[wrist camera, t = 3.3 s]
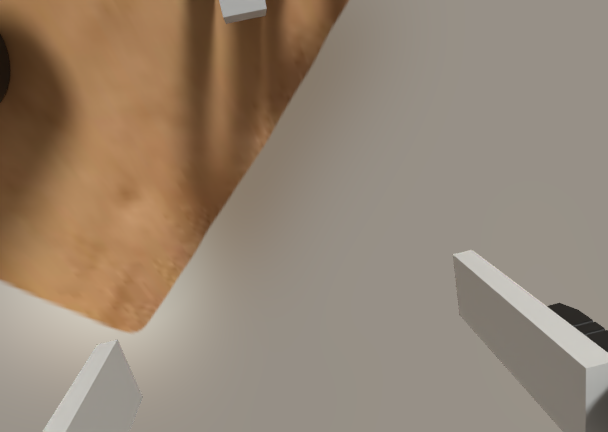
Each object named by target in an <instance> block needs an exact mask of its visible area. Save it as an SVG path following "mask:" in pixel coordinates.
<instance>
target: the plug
mask: <svg viewBox="0 0 608 432" xmlns="http://www.w3.org/2000/svg"><path fill="white" fill-rule="evenodd" d="M219 1H220V6H221V10H222V14H223V18H224V20H225V22H226V24H227V23H232V22H237V21H242V20H247V19H252V18H257V17H262V16H266V11H267V7H266V2H265V0H219Z"/></svg>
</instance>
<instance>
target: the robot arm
mask: <svg viewBox="0 0 608 432" xmlns="http://www.w3.org/2000/svg"><path fill="white" fill-rule="evenodd" d="M9 78H10V63H9V57H8V52H7V49H6V46H5V43H4V41H3V39H2V36H1V34H0V102H1V101H2V99H3V97H4V95H5V93H6V91H7V88H8V84H9ZM453 259H454V269H455V278H456V287H457V296H458V305H459V315H460V316H461V317H462V318H463V319H464V320H465V321H466V323H467V324H468V325H469V326H470V327H471V328H472V329H473V331H474V332H475V333H476V334H477V335H478V336H479V337H480V338H481V340H482V341H483V342H484V343H485V344H486V345H487V346H488V348H489V349H490V350H491V351H492V352H493V353H494V354H495V355H496V357H497V358H498V359H499V360H500V361H501V362H502V363H503V364H504V366H505V367H506V368H507V369H508V370H509V371H510V372H511V373H512V375H513V376H514V377H515V378H516V379H517V380H518V381H519V382H520V383H521V385H522V386H523V387H524V388H525V389H526V390H527V391H528V392H529V394H530V395H531V396H532V397H533V398H534V399H535V401H536V402H537V403H538V404H539V405H540V406H541V407H542V408H543V410H544V411H545V412H546V413H547V414H548V415H549V416H550V417H551V419H552V420H553V421H554V422H555V423H556V424H557V425H558V426H559V428H560V429H561V430H562V431H563V432H608V331H607V330H605V329H604V328H603V327H602V326H601V325H599V324H598V323H596V322H593V321H592V319H590V318H589V317H588V316H586V315H585V314H583V313H582V312H580V311H579V310H577V309H574V308H572V307H569V306H566V305H563V304H561V303H557V304H553V305H550V306H545V305H544V304H543V303H542V302H540V301H539V300H538V299H536V298H535V297H534V296H532V295H531V294H530V293H528V292H527V291H526V290H524V289H523V288H522V287H520V286H519V285H518V284H516V283H515V282H514V281H512V280H511V279H510V278H509V277H507V276H506V275H505V274H503V273H502V272H500V271H499V270H498V269H497V268H495V267H494V266H493V265H491V264H490V263H489V262H487V261H486V260H485V259H484V258H482V257H481V256H480V255H478V254H477V253H476V252H474V251H473V250H469V251H465V252H461V253H457V254H453ZM142 397H143V396H142V394H141V392H140V390H139V387H138V385H137V382H136V380H135V378H134V376H133V373H132V371H131V369H130V367H129V364H128V362H127V360H126V358H125V356H124V353H123V351H122V349H121V346H120V344H119V342H118V340H113V341H109V342H105V343H101V344H97V346H96V347H95V349H94V351H93V352H92V354H91V355H90V357H89V358H88V360H87V362H86V363H85V365H84V366H83V368H82V369H81V371H80V373H79V375H78V376H77V377H76V379H75V381H74V382H73V384H72V385H71V387H70V389H69V390H68V392H67V393H66V395H65V397H64V398H63V400H62V401H61V403H60V404H59V406H58V408H57V409H56V411H55V413H54V414H53V416H52V417H51V419H50V420H49V422H48V424H47V426H46V427H45V428H44V430H43V431H42V432H130V429H131V427H132V424H133V421H134V418H135V416H136V413H137V410H138V408H139V405H140V403H141V400H142Z"/></svg>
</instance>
